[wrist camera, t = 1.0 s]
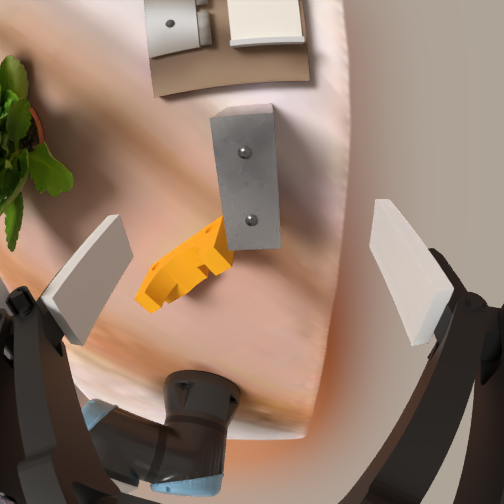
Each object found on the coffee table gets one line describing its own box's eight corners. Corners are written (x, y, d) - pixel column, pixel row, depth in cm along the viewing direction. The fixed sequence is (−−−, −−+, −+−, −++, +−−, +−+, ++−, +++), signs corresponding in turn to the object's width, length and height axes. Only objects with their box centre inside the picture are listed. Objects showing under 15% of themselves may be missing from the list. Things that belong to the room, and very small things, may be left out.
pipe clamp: (174, 286, 37) (161, 322, 31) (151, 264, 35) (134, 299, 29) (247, 242, 32) (243, 279, 27) (223, 214, 30) (213, 247, 25)
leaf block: (277, 200, 29) (281, 249, 22) (239, 202, 29) (228, 251, 22) (271, 103, 24) (273, 113, 16) (228, 106, 24) (209, 118, 16)
